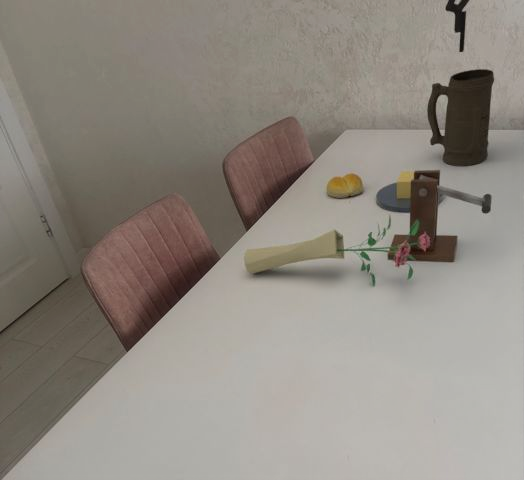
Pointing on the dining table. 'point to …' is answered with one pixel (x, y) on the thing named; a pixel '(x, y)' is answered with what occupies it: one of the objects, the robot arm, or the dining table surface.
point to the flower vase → (327, 251)
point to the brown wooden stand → (426, 221)
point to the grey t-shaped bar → (465, 196)
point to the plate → (394, 199)
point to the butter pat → (404, 184)
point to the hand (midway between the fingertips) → (498, 46)
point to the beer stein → (463, 116)
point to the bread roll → (345, 186)
